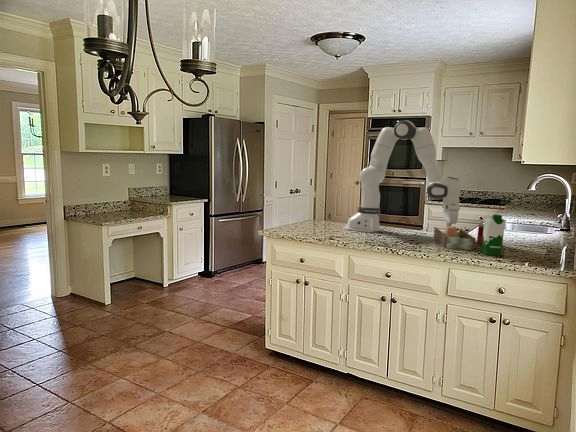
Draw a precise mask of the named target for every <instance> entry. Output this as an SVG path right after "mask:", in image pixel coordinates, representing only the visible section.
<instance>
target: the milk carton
mask: <svg viewBox="0 0 576 432" xmlns="http://www.w3.org/2000/svg"><path fill="white" fill-rule="evenodd" d="M506 223H507V219H504V218H503V215H501V214H493V215H492V217H489V216H488V217H487V216H485V217H483V224H484V229H483V238H482V245H480V247H481V248H480V252H481V253H482V254H484V255H486V256H491V257H492V256H495V257H496V256H498V257H500V256H502V252H503V251H502V250H503V243H504V234H505V227H506Z"/></svg>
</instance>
